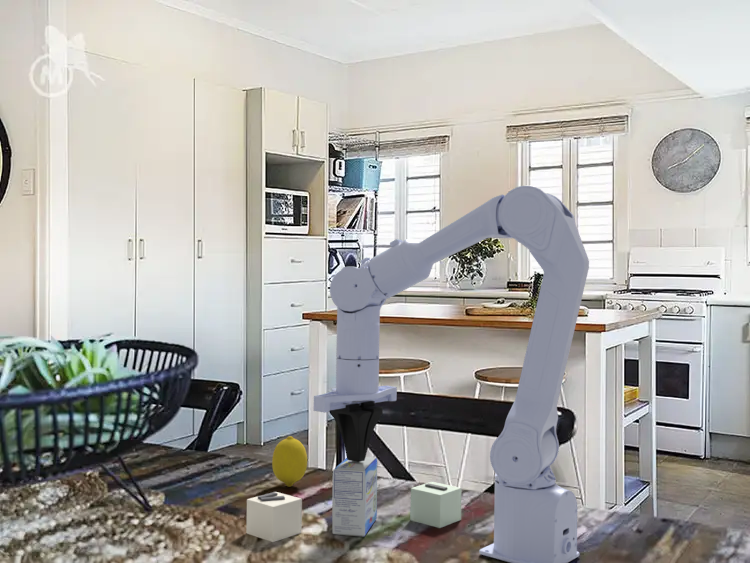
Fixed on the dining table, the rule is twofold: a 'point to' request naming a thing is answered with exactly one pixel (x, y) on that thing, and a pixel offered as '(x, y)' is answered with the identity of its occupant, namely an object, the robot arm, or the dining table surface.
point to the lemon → (289, 461)
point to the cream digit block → (274, 516)
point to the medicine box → (354, 497)
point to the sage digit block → (435, 504)
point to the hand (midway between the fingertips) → (355, 460)
